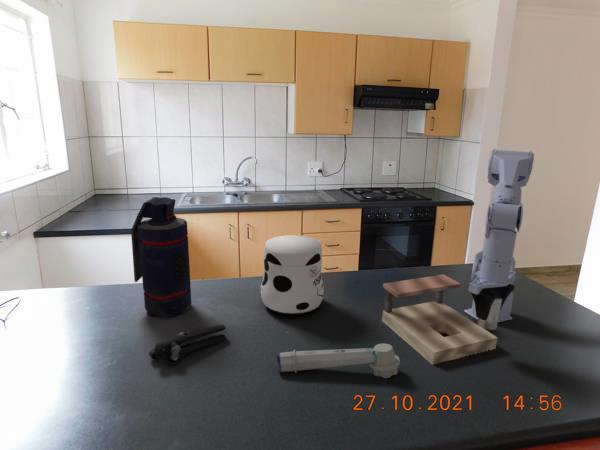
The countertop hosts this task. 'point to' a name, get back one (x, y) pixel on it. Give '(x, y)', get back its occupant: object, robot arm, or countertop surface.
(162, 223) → the grenade
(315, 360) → the toothbrush head
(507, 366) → the countertop surface
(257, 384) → the countertop surface
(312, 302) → the milk container
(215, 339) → the can opener
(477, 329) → the socket block
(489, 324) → the steel peg
